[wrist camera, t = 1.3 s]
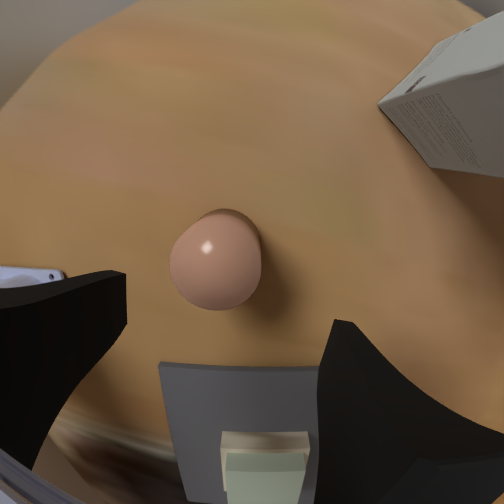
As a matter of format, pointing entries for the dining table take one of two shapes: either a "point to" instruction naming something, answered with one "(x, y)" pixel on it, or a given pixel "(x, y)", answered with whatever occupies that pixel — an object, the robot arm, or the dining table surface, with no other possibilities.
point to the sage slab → (264, 477)
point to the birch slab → (263, 444)
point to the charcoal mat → (235, 417)
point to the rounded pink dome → (217, 260)
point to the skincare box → (456, 102)
